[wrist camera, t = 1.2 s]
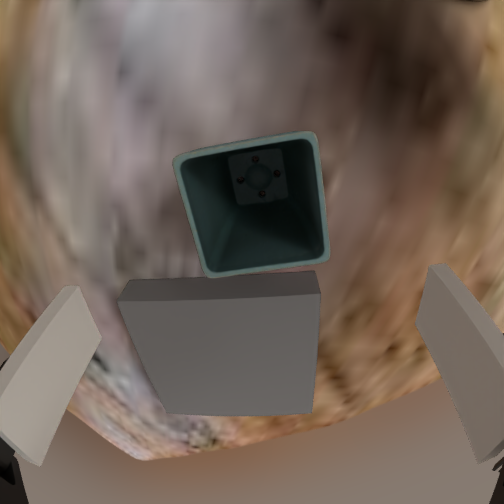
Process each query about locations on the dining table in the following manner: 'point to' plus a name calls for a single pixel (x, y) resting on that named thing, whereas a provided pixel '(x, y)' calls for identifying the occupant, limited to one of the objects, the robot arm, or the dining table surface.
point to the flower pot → (255, 204)
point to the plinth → (227, 341)
